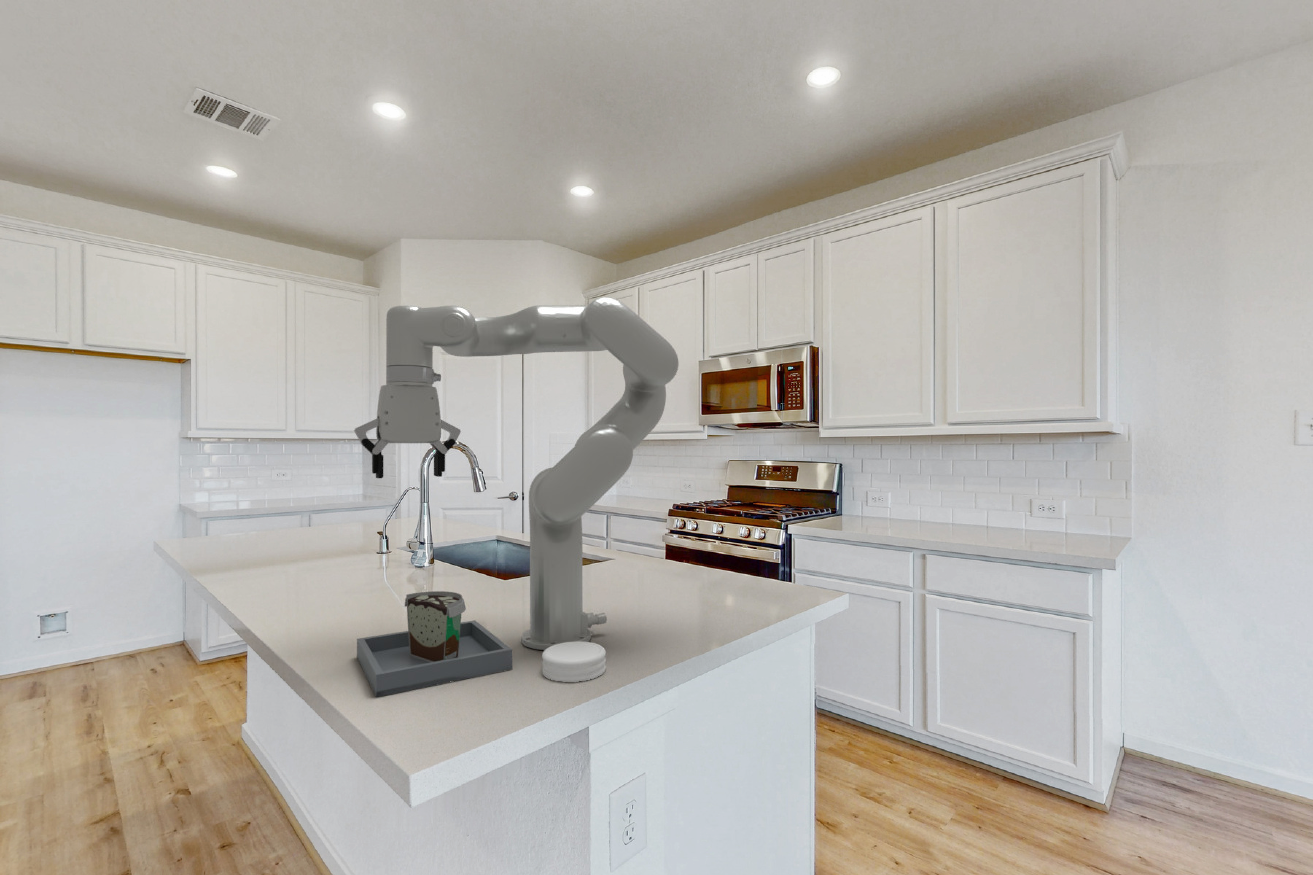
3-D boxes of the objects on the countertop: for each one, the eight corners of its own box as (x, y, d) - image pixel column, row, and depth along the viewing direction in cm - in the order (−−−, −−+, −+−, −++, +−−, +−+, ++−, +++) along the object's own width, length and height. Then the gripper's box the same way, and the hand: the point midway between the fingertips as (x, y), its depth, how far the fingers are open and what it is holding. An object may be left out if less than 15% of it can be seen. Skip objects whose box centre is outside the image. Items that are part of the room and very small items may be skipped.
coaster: (575, 657, 106) (575, 636, 106) (618, 670, 100) (618, 648, 100) (528, 674, 98) (528, 652, 98) (573, 689, 92) (572, 665, 92)
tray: (475, 637, 116) (475, 620, 116) (512, 669, 100) (512, 649, 100) (356, 657, 106) (356, 638, 106) (376, 697, 89) (376, 674, 89)
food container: (481, 657, 103) (481, 596, 103) (449, 668, 98) (449, 604, 98) (436, 644, 110) (436, 587, 110) (404, 653, 105) (404, 594, 105)
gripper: (454, 383, 117) (454, 475, 116) (351, 378, 107) (351, 477, 107) (465, 379, 110) (465, 476, 110) (358, 373, 101) (357, 479, 101)
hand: (409, 477), depth 109 cm, fingers open, 9 cm apart
